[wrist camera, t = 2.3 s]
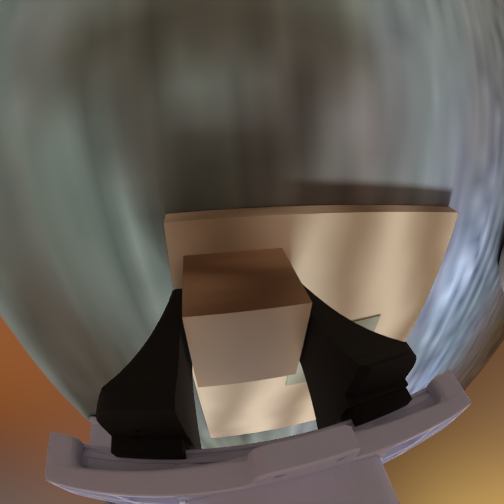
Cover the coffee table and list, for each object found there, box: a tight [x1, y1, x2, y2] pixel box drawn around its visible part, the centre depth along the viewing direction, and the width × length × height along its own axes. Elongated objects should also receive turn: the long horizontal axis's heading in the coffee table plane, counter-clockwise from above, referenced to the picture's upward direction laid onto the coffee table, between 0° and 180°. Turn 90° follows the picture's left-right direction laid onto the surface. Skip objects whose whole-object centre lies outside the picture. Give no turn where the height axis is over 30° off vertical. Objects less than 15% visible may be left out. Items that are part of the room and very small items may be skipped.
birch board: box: [164, 205, 458, 438], centre depth 19 cm, size 18×24×1 cm
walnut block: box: [182, 248, 312, 387], centre depth 12 cm, size 5×5×4 cm
